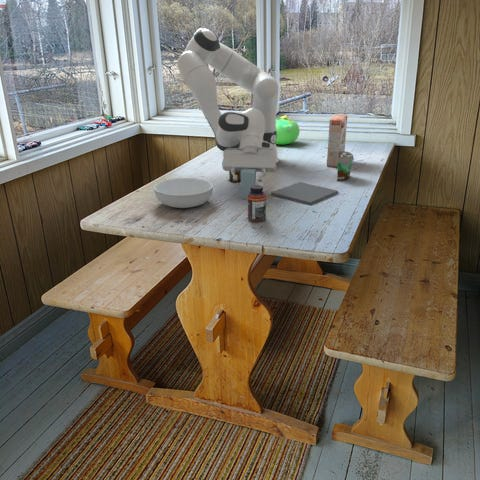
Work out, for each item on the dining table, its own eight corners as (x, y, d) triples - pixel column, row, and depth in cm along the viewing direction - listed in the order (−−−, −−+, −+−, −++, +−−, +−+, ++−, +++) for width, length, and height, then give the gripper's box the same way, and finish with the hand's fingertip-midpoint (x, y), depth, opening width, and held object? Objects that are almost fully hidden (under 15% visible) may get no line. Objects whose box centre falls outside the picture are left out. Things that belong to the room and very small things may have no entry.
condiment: (241, 176, 213) (241, 148, 209) (248, 182, 206) (248, 153, 201) (225, 178, 211) (224, 150, 206) (232, 184, 204) (231, 154, 199)
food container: (352, 182, 203) (354, 158, 199) (336, 182, 204) (338, 157, 200) (352, 174, 214) (354, 151, 210) (337, 173, 215) (339, 150, 211)
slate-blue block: (240, 198, 187) (240, 172, 183) (242, 194, 191) (242, 168, 187) (254, 199, 186) (254, 172, 182) (256, 194, 190) (255, 169, 186)
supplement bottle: (246, 216, 169) (246, 183, 164) (264, 215, 169) (264, 183, 165) (248, 223, 163) (248, 189, 159) (267, 222, 164) (267, 188, 159)
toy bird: (302, 142, 273) (303, 114, 268) (292, 149, 259) (293, 120, 254) (271, 140, 280) (271, 113, 275) (260, 146, 266) (260, 117, 260)
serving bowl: (190, 218, 169) (189, 198, 166) (143, 207, 179) (141, 189, 176) (224, 200, 185) (224, 182, 182) (179, 192, 195) (178, 174, 192)
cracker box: (339, 167, 224) (342, 120, 216) (326, 166, 226) (328, 119, 218) (344, 160, 236) (348, 114, 228) (332, 159, 238) (334, 114, 230)
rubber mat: (270, 194, 190) (270, 192, 190) (299, 184, 202) (299, 181, 202) (310, 205, 179) (310, 202, 178) (338, 193, 191) (338, 190, 190)
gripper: (222, 143, 190) (218, 175, 185) (277, 144, 187) (274, 177, 182) (225, 152, 196) (221, 183, 191) (278, 153, 193) (275, 185, 188)
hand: (247, 180), depth 186 cm, fingers open, 8 cm apart
